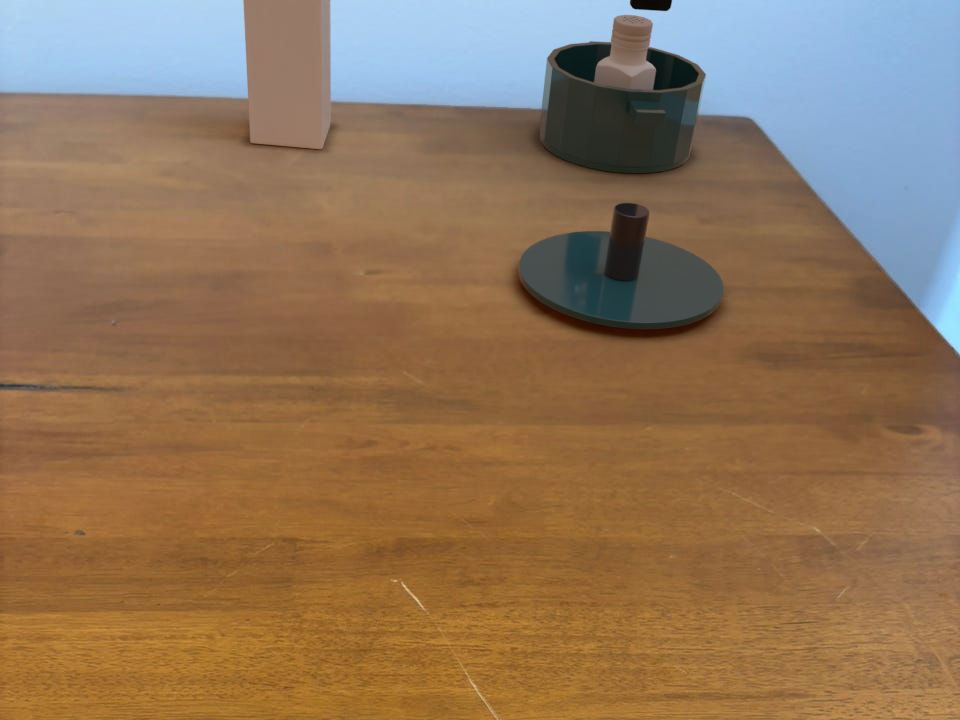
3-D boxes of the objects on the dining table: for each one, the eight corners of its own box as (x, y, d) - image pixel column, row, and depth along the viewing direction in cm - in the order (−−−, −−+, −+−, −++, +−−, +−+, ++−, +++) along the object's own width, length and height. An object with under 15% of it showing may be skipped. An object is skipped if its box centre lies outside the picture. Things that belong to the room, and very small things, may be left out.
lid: (689, 247, 89) (705, 171, 85) (746, 338, 78) (766, 257, 74) (503, 243, 86) (510, 166, 83) (536, 337, 76) (546, 253, 72)
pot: (661, 111, 111) (674, 36, 107) (716, 188, 98) (733, 106, 94) (523, 105, 109) (531, 29, 105) (560, 184, 96) (571, 100, 92)
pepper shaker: (583, 137, 103) (599, 18, 97) (610, 127, 105) (627, 10, 99) (621, 150, 101) (639, 30, 95) (647, 140, 104) (667, 22, 97)
